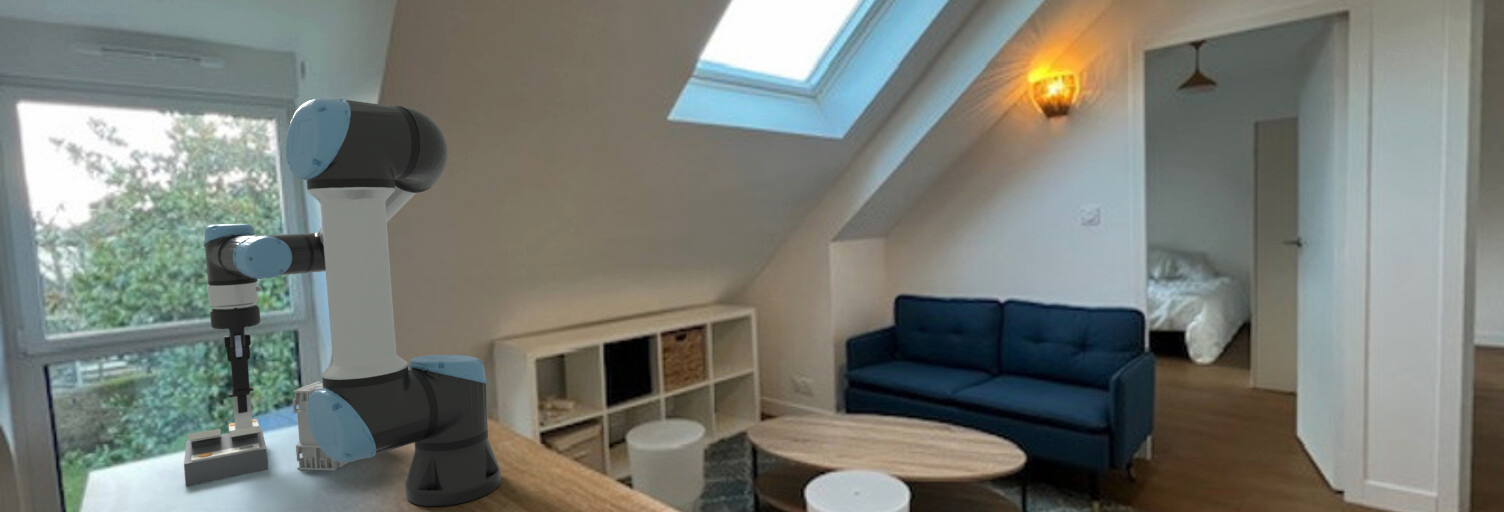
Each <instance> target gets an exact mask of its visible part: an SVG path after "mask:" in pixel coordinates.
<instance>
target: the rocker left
mask: <svg viewBox="0 0 1504 512" xmlns="http://www.w3.org/2000/svg"><path fill="white" fill-rule="evenodd" d="M217 436H221V428H216V429H210V430H209V429H208V430H204V431H198V432H192V433H187V437H188V438H187V440H189V441H194V440H200V439H206V438H211V437H217Z"/></svg>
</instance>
